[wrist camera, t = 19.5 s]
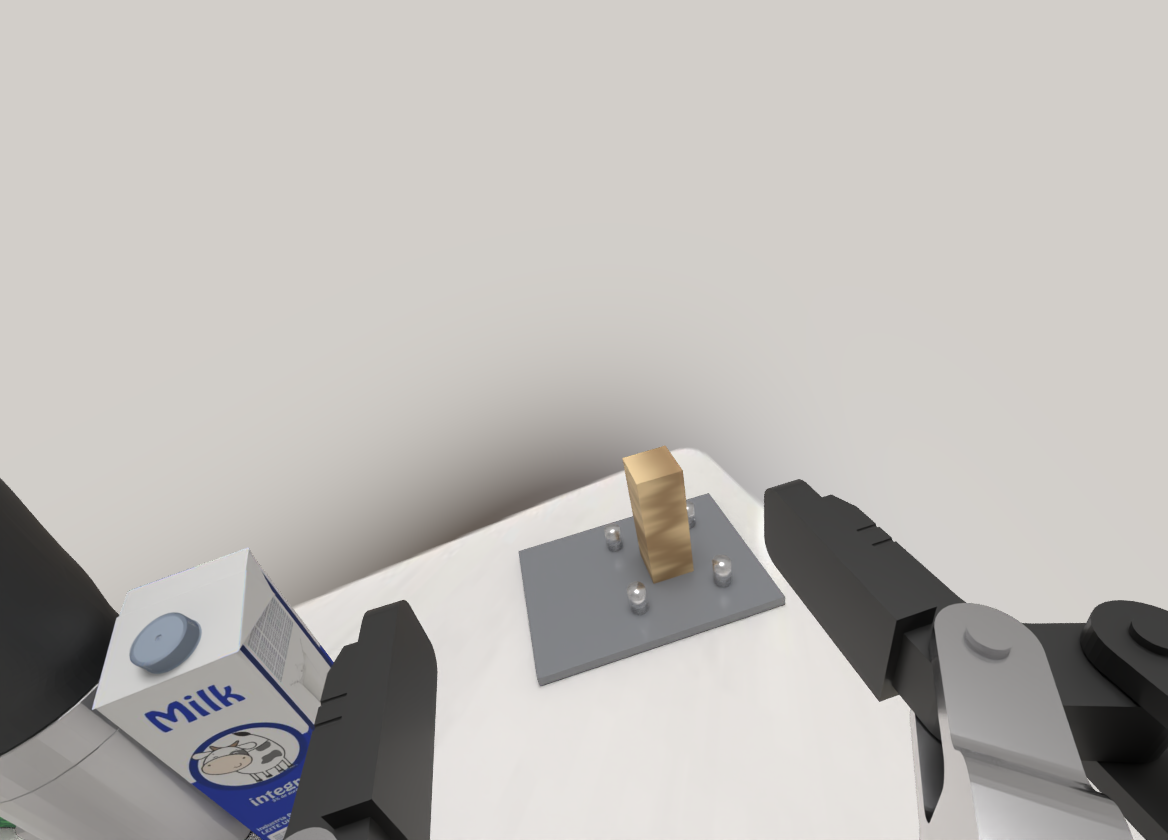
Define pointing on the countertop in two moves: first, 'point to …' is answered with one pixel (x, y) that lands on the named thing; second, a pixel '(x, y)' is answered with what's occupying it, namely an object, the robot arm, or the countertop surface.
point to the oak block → (659, 513)
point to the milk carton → (219, 685)
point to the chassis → (635, 592)
